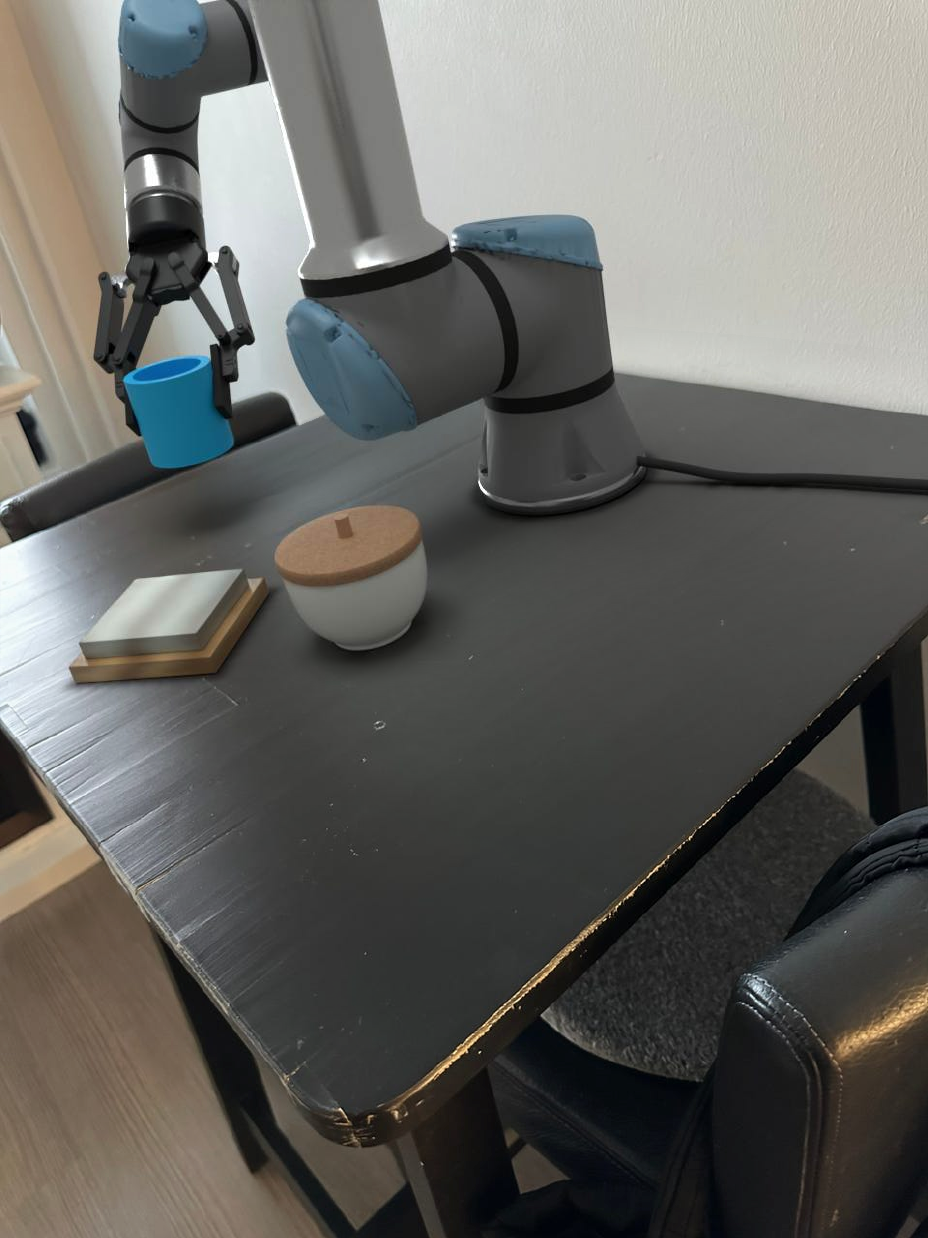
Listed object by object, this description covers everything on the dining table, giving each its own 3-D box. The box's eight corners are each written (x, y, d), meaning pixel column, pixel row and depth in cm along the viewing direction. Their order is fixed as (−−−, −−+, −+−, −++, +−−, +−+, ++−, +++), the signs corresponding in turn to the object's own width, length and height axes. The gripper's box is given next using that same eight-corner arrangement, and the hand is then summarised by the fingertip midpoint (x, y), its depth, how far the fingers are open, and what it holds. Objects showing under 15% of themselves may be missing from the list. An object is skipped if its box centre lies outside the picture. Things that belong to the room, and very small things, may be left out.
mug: (209, 466, 95) (182, 380, 91) (134, 470, 98) (105, 387, 93) (265, 419, 105) (243, 340, 101) (196, 423, 107) (172, 346, 103)
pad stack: (269, 592, 86) (259, 561, 85) (216, 673, 76) (203, 639, 75) (142, 604, 89) (130, 574, 88) (75, 683, 79) (60, 651, 78)
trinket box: (274, 647, 78) (237, 537, 73) (375, 582, 84) (347, 476, 79) (368, 683, 71) (333, 564, 66) (471, 609, 77) (445, 495, 72)
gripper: (276, 218, 105) (298, 417, 99) (85, 260, 107) (94, 458, 101) (252, 168, 98) (273, 380, 92) (47, 214, 100) (55, 425, 94)
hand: (179, 421), depth 96 cm, fingers closed on mug, 8 cm apart
